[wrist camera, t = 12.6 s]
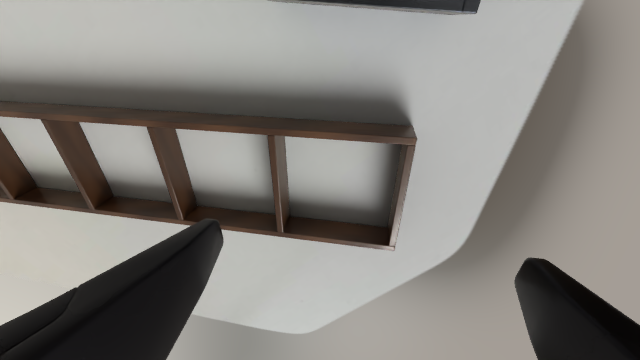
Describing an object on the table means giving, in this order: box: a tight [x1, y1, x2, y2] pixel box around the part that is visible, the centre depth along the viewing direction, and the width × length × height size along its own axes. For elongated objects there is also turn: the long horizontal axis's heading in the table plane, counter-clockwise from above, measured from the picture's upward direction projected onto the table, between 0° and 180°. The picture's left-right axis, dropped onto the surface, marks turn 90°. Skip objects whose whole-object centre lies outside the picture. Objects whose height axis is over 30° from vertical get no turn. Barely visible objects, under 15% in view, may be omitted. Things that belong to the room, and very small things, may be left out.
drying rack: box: [0, 101, 417, 251], centre depth 23 cm, size 54×9×2 cm, turn 90°
